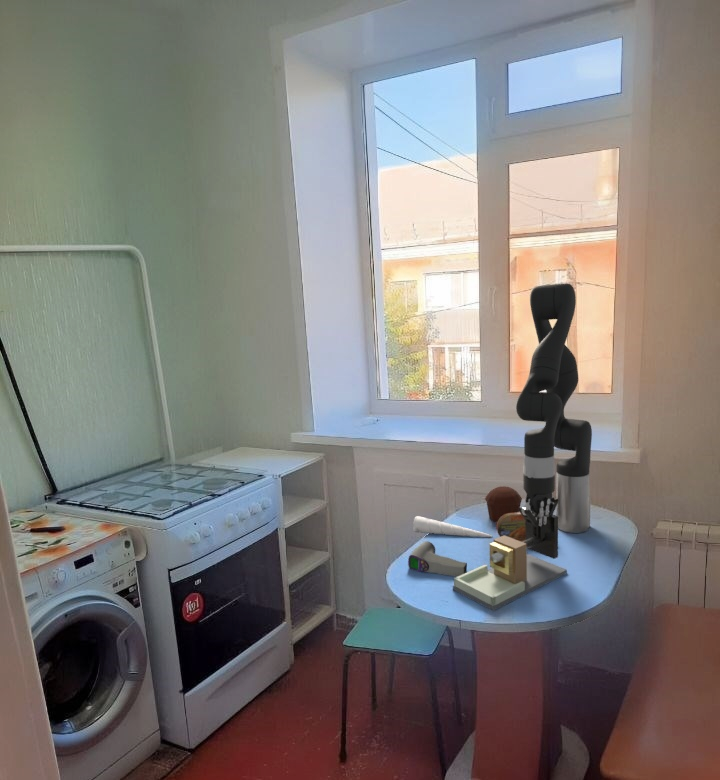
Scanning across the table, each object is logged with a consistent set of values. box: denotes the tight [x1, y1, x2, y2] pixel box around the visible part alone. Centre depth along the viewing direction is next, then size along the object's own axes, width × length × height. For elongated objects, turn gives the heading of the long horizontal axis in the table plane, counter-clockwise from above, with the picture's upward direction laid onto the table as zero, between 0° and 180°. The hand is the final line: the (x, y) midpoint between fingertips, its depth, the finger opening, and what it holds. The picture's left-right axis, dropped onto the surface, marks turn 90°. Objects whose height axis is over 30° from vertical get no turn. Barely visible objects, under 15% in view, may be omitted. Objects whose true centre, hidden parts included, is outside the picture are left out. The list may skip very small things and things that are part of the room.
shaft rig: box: [452, 535, 567, 612], centre depth 150 cm, size 28×13×11 cm, turn 126°
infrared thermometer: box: [407, 540, 468, 577], centre depth 161 cm, size 5×12×15 cm
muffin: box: [484, 485, 523, 523], centre depth 190 cm, size 12×11×10 cm
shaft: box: [489, 514, 559, 563], centre depth 151 cm, size 19×9×11 cm, turn 126°
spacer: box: [489, 541, 514, 575], centre depth 147 cm, size 2×6×6 cm, turn 36°
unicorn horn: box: [412, 515, 493, 538], centre depth 180 cm, size 5×24×5 cm, turn 67°
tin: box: [496, 512, 526, 542], centre depth 174 cm, size 15×3×8 cm, turn 92°
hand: (538, 538), depth 151 cm, fingers closed
